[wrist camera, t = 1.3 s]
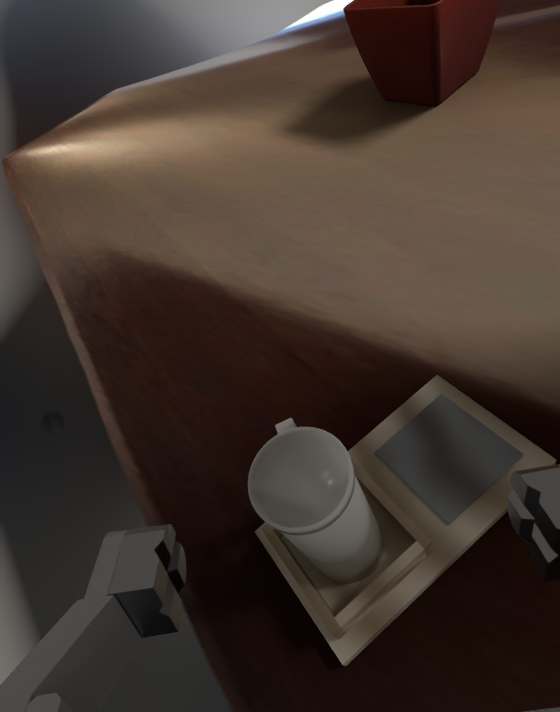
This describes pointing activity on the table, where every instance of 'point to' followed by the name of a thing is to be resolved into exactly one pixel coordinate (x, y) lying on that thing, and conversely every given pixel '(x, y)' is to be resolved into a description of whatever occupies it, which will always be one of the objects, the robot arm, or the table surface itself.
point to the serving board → (413, 509)
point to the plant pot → (421, 44)
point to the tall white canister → (316, 501)
